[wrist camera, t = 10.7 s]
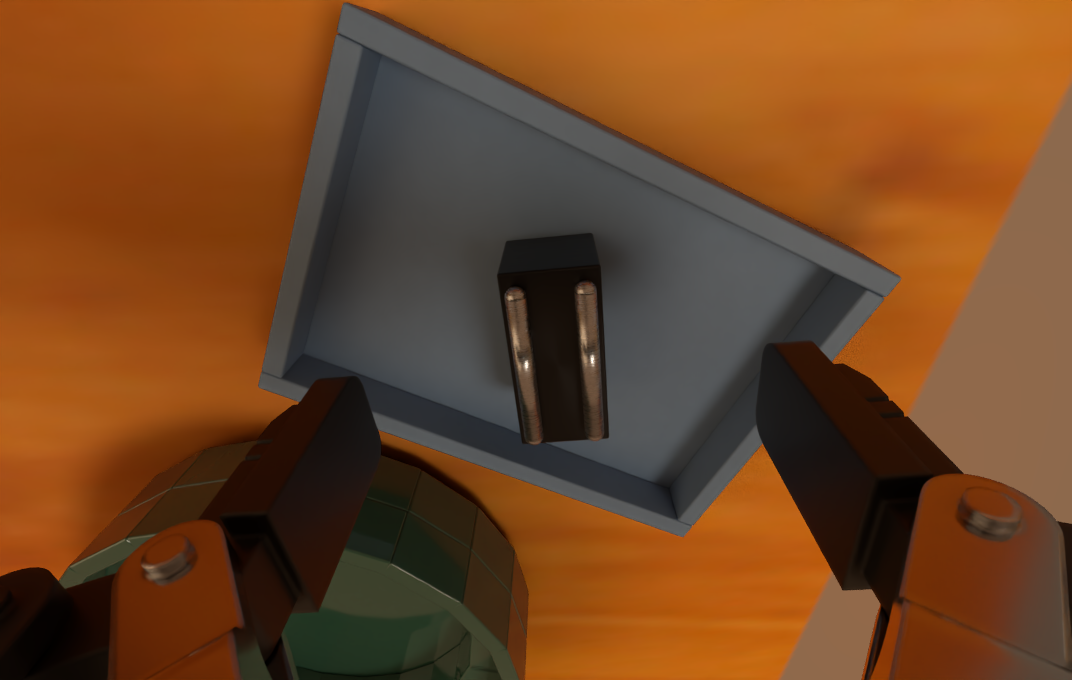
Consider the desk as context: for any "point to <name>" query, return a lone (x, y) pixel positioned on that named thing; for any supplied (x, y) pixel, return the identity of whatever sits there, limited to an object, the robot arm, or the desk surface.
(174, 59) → the desk surface
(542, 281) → the clip
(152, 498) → the bowl
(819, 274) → the tray
